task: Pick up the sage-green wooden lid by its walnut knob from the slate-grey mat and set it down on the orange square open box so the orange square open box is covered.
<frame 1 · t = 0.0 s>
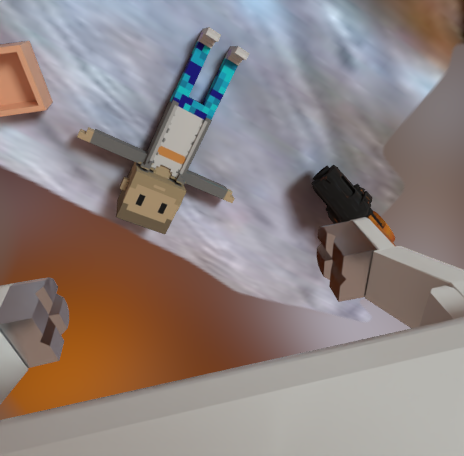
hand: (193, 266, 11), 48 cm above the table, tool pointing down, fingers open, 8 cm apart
orange square open box: (11, 76, 48), on the table
tool: (342, 198, 71), on the table
toy: (177, 129, 57), on the table
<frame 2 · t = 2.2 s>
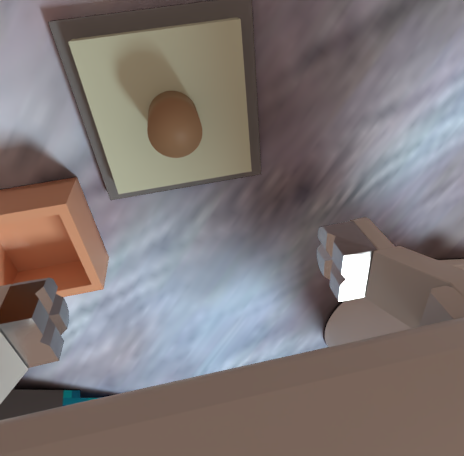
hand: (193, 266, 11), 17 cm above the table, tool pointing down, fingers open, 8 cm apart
mat: (171, 107, 25), on the table
orange square open box: (44, 229, 28), on the table
toy: (21, 393, 40), on the table
lid: (172, 110, 24), point 1 cm above the table, touching mat
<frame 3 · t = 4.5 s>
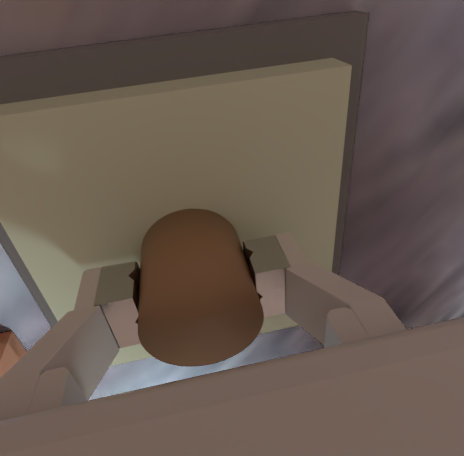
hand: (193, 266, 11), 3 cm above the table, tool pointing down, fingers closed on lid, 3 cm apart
mat: (185, 217, 13), on the table
lid: (188, 229, 12), point 1 cm above the table, touching gripper, mat
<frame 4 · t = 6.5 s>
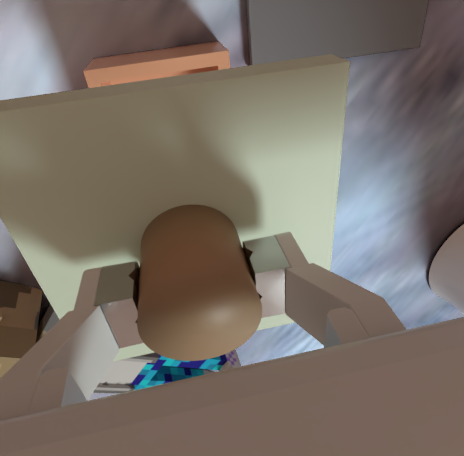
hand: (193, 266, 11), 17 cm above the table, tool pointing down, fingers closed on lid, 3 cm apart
orange square open box: (169, 111, 25), on the table
toy: (103, 333, 37), on the table
lid: (187, 226, 13), point 15 cm above the table, touching gripper
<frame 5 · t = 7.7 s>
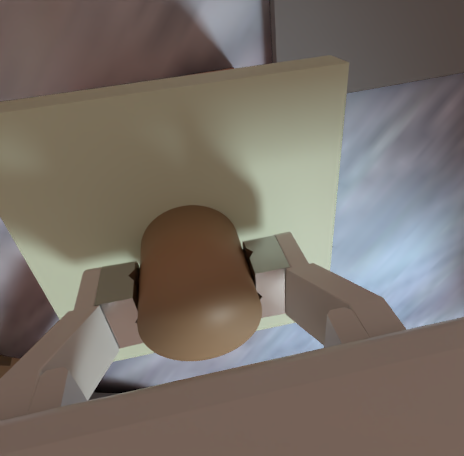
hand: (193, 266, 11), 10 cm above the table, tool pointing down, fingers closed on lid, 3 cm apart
toy: (99, 397, 32), on the table
lid: (187, 226, 13), point 8 cm above the table, touching gripper
when the fingers open (7 cm above the table, at t = 8.6 s): lid stays where it is, resting on orange square open box.
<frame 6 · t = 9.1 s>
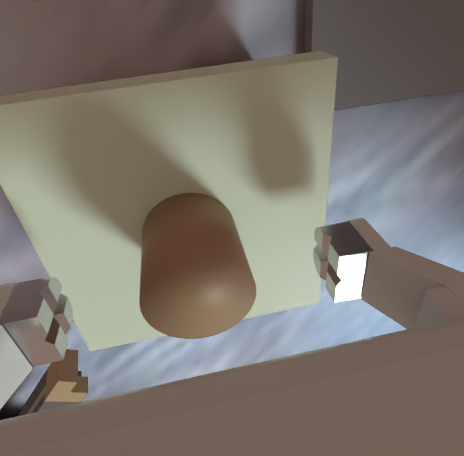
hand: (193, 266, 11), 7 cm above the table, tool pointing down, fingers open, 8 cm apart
toy: (86, 436, 29), on the table
lid: (186, 215, 13), point 4 cm above the table, touching orange square open box
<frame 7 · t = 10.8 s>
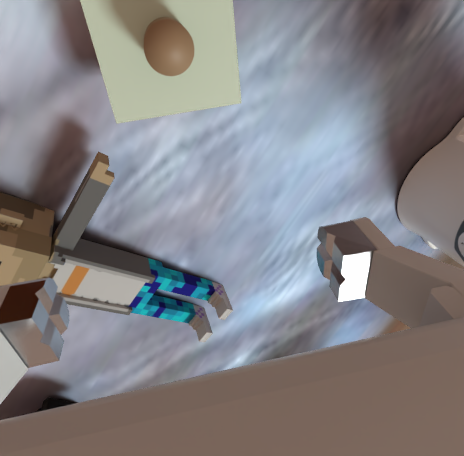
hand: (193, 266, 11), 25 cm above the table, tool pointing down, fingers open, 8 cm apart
toy: (105, 261, 41), on the table
lid: (166, 41, 26), point 4 cm above the table, touching orange square open box
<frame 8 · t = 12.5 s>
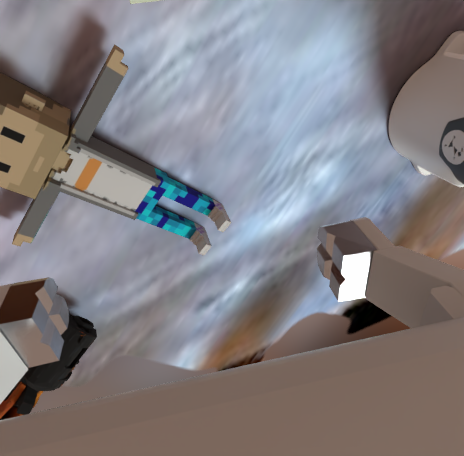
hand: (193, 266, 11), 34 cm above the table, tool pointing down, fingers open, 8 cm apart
tool: (45, 339, 59), on the table
toy: (114, 168, 45), on the table
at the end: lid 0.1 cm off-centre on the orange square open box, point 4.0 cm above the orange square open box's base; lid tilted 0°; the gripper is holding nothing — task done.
